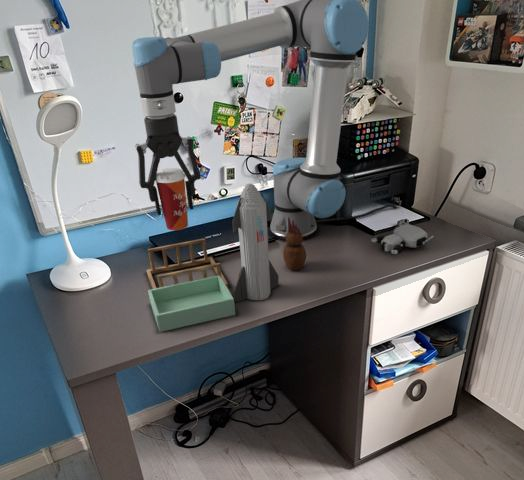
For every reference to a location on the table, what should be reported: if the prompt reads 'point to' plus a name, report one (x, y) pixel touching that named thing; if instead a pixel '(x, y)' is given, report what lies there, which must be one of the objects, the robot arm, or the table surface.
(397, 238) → the robot toy
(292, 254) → the wooden figurine
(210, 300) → the green rectangular tray
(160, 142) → the robot arm
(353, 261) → the table surface
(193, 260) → the drying rack
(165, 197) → the paper cup
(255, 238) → the rocket model
